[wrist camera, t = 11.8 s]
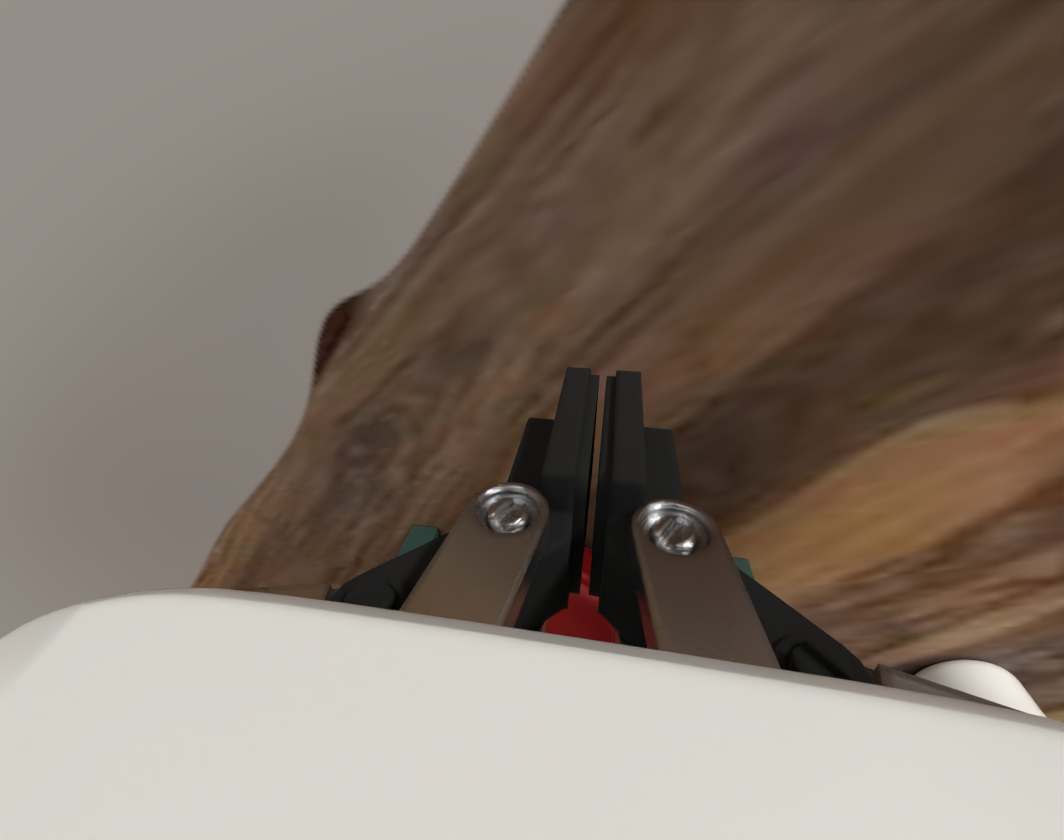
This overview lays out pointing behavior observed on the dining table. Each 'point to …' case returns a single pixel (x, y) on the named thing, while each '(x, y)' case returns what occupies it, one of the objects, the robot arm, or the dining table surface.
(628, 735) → the robot arm
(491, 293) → the dining table surface
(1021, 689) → the white paper cup
